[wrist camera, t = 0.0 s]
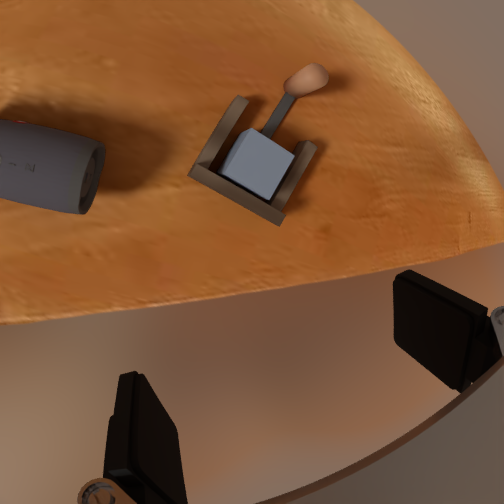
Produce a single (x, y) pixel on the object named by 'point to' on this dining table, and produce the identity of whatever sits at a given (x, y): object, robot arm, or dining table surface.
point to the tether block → (261, 147)
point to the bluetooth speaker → (49, 167)
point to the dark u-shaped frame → (264, 209)
